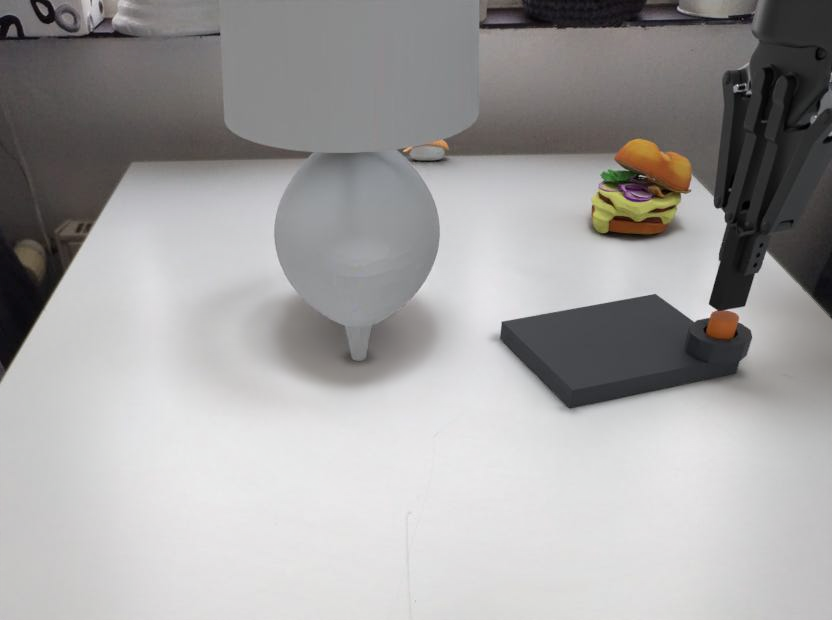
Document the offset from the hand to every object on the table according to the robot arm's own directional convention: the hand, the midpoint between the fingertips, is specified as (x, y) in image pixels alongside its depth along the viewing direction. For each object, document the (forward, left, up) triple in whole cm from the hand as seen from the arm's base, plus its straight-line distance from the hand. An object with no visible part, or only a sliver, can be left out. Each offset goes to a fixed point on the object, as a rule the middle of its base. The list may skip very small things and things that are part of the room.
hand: (726, 304), depth 78 cm
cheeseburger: (-12, -33, -6) cm, 36 cm away
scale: (+7, -5, -6) cm, 10 cm away
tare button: (0, 0, -3) cm, 3 cm away
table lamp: (+28, -19, -6) cm, 34 cm away
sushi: (+2, -65, -6) cm, 65 cm away
